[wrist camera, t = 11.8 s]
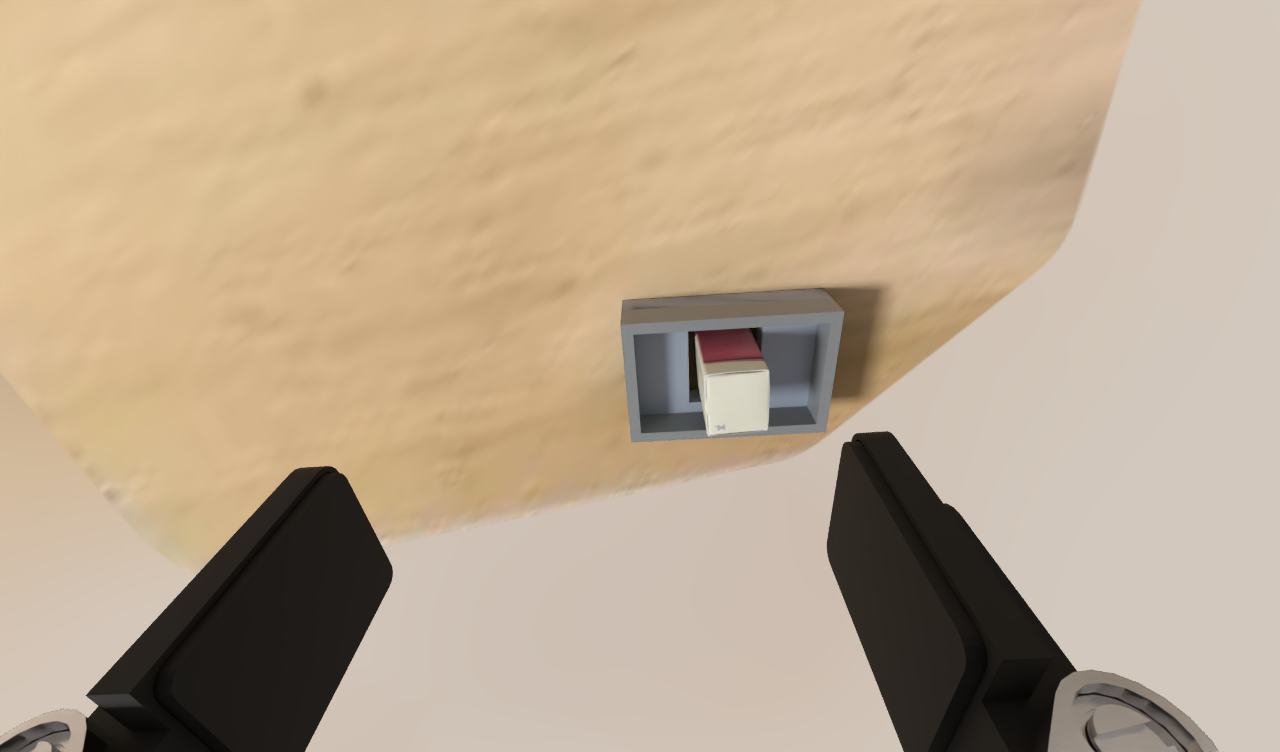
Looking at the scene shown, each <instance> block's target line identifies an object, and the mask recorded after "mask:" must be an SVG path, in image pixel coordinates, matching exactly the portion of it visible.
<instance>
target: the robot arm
mask: <svg viewBox="0 0 1280 752" xmlns="http://www.w3.org/2000/svg"><path fill="white" fill-rule="evenodd" d="M827 553H828V558H829V562H830V565H831V567H832V570H833V572H834V575H835V577H836V580H837V582H838V585H839V587H840V590H841V593H842V595H843V598H844V600H845V603H846V605H847V608H848V611H849V613H850V616H851V618H852V621H853V623H854V626H855V628H856V631H857V634H858V636H859V639H860V641H861V644H862V646H863V648H864V651H865V654H866V656H867V659H868V661H869V664H870V666H871V669H872V672H873V674H874V677H875V679H876V682H877V684H878V687H879V690H880V692H881V695H882V697H883V699H884V702H885V705H886V707H887V710H888V712H889V715H890V718H891V720H892V723H893V725H894V727H895V730H896V733H897V735H898V738H899V740H900V743H901V745H902V748H903V751H904V752H1219V751H1218V749H1217V748H1216V746H1215V745H1214V743H1213V742H1212V740H1211V739H1210V738H1209V737H1208V736H1207V735H1206V734H1205V733H1204V732H1203V731H1202V730H1201V729H1200V728H1199V727H1198V726H1197V724H1196V723H1195V722H1194V721H1193V720H1191V718H1190V717H1188V716H1187V715H1186V714H1185V713H1183V712H1182V711H1181V710H1180V709H1178V708H1177V707H1176V706H1174V705H1173V704H1172V703H1171V702H1169V701H1168V700H1167V699H1165V698H1164V697H1162V696H1160V695H1159V694H1157V693H1155V692H1153V691H1152V690H1150V689H1148V688H1146V687H1145V686H1143V685H1141V684H1139V683H1137V682H1135V681H1132V680H1129V679H1127V678H1124V677H1121V676H1119V675H1116V674H1114V673H1107V672H1102V671H1095V670H1086V671H1078V672H1077V671H1076V669H1075V668H1074V666H1073V665H1072V664H1071V662H1070V661H1069V660H1068V658H1067V657H1066V656H1065V655H1064V653H1063V652H1062V650H1061V649H1060V648H1059V646H1058V645H1057V644H1056V642H1055V641H1054V640H1053V638H1052V637H1051V636H1050V634H1049V633H1048V632H1047V630H1046V629H1045V628H1044V626H1043V625H1042V624H1041V622H1040V621H1039V620H1038V618H1037V617H1036V616H1035V614H1034V613H1033V611H1032V610H1031V609H1030V608H1029V606H1028V605H1027V603H1026V602H1025V601H1024V599H1023V598H1022V597H1021V595H1020V594H1019V593H1018V591H1017V590H1016V589H1015V587H1014V586H1013V585H1012V583H1011V582H1010V581H1009V579H1008V578H1007V577H1006V575H1005V574H1004V573H1003V571H1002V570H1001V568H1000V567H999V566H998V564H997V563H996V562H995V560H994V559H993V558H992V556H991V555H990V554H989V552H988V551H987V550H986V548H985V547H984V546H983V544H982V543H981V542H980V540H979V539H978V538H977V536H976V535H975V534H974V532H973V531H972V530H971V528H970V527H969V526H968V524H967V523H966V522H965V520H964V519H963V517H962V516H961V515H960V514H959V513H958V512H957V511H956V510H955V508H954V507H952V506H950V505H948V504H943V503H942V501H941V500H940V499H939V497H938V496H937V495H936V493H935V492H934V490H933V489H932V487H931V486H930V485H929V483H928V482H927V481H926V479H925V478H924V477H923V475H922V474H921V472H920V471H919V470H918V468H917V467H916V465H915V464H914V463H913V461H912V460H911V458H910V457H909V456H908V455H907V453H906V452H905V450H904V449H903V447H902V446H901V445H900V443H899V442H898V441H897V439H896V438H895V436H894V435H893V434H892V433H890V432H888V431H887V432H872V433H871V432H870V433H857V434H855V435H854V436H853V438H852V441H851V442H845V443H844V444H843V447H842V452H841V458H840V464H839V471H838V477H837V483H836V489H835V496H834V502H833V508H832V514H831V521H830V527H829V533H828V539H827ZM392 576H393V570H392V565H391V563H390V562H389V559H388V557H387V556H386V553H385V552H384V550H383V548H382V546H381V544H380V542H379V540H378V538H377V536H376V534H375V532H374V530H373V528H372V526H371V524H370V522H369V520H368V518H367V517H366V515H365V513H364V511H363V509H362V507H361V505H360V503H359V501H358V499H357V497H356V495H355V493H354V491H353V489H352V487H351V486H350V484H349V482H348V480H347V478H346V477H345V475H343V474H341V473H339V472H338V471H337V470H336V469H335V468H333V467H330V466H323V467H307V468H299V469H296V470H294V471H293V472H292V473H290V475H289V476H288V477H287V478H286V479H285V480H284V481H283V482H282V483H281V484H280V485H279V486H278V488H277V489H276V490H275V491H274V492H273V493H272V494H271V495H270V496H269V497H268V498H267V499H266V501H265V502H264V503H263V504H262V505H261V506H260V507H259V508H258V509H257V510H256V511H255V512H254V514H253V515H252V516H251V517H250V518H249V519H248V520H247V521H246V522H245V523H244V524H243V525H242V527H241V528H240V529H239V530H238V531H237V532H236V533H235V534H234V535H233V536H232V537H231V539H230V540H229V541H228V542H227V543H226V544H225V545H224V546H223V547H222V548H221V549H220V550H219V552H218V553H217V554H216V555H215V556H214V557H213V558H212V559H211V560H210V561H209V562H208V563H207V565H206V566H205V567H204V568H203V569H202V570H201V571H200V572H199V573H198V574H197V575H196V577H195V578H194V579H193V580H192V581H191V582H190V583H189V584H188V585H187V587H185V588H184V589H183V591H182V592H181V593H180V594H179V595H178V596H177V597H176V598H175V599H174V601H173V602H172V603H171V604H170V605H169V606H168V607H167V608H166V609H165V610H164V611H163V612H162V613H161V615H160V616H159V617H158V618H157V619H156V620H155V621H154V622H153V623H152V624H151V625H150V626H149V628H148V629H147V630H146V631H145V632H144V633H143V634H142V635H141V636H140V637H139V638H138V639H137V641H136V642H135V643H134V644H133V645H132V646H131V647H130V648H129V649H128V650H127V651H126V652H125V653H124V655H123V656H122V657H121V658H120V659H119V660H118V661H117V662H116V663H115V664H114V665H113V667H112V668H111V669H110V670H109V671H108V672H107V673H106V674H105V675H104V676H103V677H102V679H101V680H100V681H99V682H98V683H97V684H96V685H95V686H94V687H93V688H92V689H91V690H90V691H89V693H88V694H87V695H86V696H87V697H88V698H89V699H91V700H92V701H93V702H95V703H96V704H97V705H98V707H97V709H96V710H95V711H94V712H93V713H92V714H91V715H90V717H89V718H87V717H86V716H85V715H84V714H82V713H81V712H80V711H78V710H73V709H60V710H56V711H52V712H49V713H44V714H42V715H40V716H38V717H35V718H33V719H31V720H29V721H26V722H24V723H22V724H20V725H19V726H17V727H15V728H14V729H12V730H10V731H8V732H7V733H5V734H4V735H2V736H0V752H305V750H306V748H307V746H308V744H309V742H310V740H311V738H312V736H313V734H314V732H315V730H316V729H317V726H318V725H319V722H320V721H321V719H322V717H323V715H324V713H325V711H326V709H327V707H328V705H329V703H330V701H331V699H332V697H333V695H334V693H335V691H336V689H337V688H338V686H339V684H340V682H341V680H342V678H343V676H344V674H345V672H346V670H347V668H348V666H349V664H350V662H351V660H352V658H353V656H354V654H355V652H356V651H357V649H358V647H359V645H360V643H361V641H362V639H363V637H364V635H365V633H366V631H367V629H368V627H369V625H370V623H371V621H372V619H373V617H374V615H375V614H376V612H377V610H378V607H379V606H380V604H381V602H382V600H383V598H384V596H385V594H386V592H387V590H388V588H389V586H390V583H391V581H392Z"/></svg>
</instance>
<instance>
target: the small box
mask: <svg viewBox="0 0 1280 752" xmlns="http://www.w3.org/2000/svg"><path fill="white" fill-rule="evenodd" d="M694 347H695V361H696V372H697V382H698V387H699V392H700V397H701V402H702V408H703V413H704V419H705V424H706V430H707V435H708V436H717V435H731V434H741V433H750V432H759V431H766V430H768V423H769V399H770V396H769V395H770V379H769V369H768V367H767V365H766V363H765V361H764V358H763V356H762V354H761V352H760V350H759V348H758V345H757V343H756V341H755V339H754V337H753V334H752V332H751V331H750V328H739V329H722V330H705V331H694Z"/></svg>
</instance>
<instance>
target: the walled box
mask: <svg viewBox="0 0 1280 752" xmlns="http://www.w3.org/2000/svg"><path fill="white" fill-rule="evenodd" d="M844 312H845V311H844V310H843V309H842V308H841V307H840V306H839V305H838V304H837V303H836V302H835V301H834V300H833V298H832V297H831V296H830V295H829V294H828V293H827V292H826V291H825V290H824V289H823V288H816V289H800V290H783V291H767V292H751V293H735V294H719V295H702V296H686V297H670V298H654V299H638V300H623V301H622V313H621V336H622V346H623V357H624V368H625V379H626V389H627V400H628V411H629V421H630V432H631V442H646V441H665V440H684V439H704V438H723V437H742V436H761V435H781V434H800V433H819V432H826V428H827V421H828V415H829V408H830V402H831V395H832V389H833V383H834V376H835V370H836V363H837V357H838V350H839V344H840V338H841V331H842V325H843V318H844ZM755 327H757V329H756V343H757V345H758V348H759V350H760V352H761V354H762V356H763V358H764V361H765V363H766V365H767V367H768V369H769V379H770V395H769V396H770V399H769V423H768V430H766V431H759V432H750V433H741V434H731V435H717V436H708V435H707V430H706V424H705V419H704V413H703V408H702V402H701V397H700V392H699V389H689V358H688V331H705V330H722V329H739V328H755Z"/></svg>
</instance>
